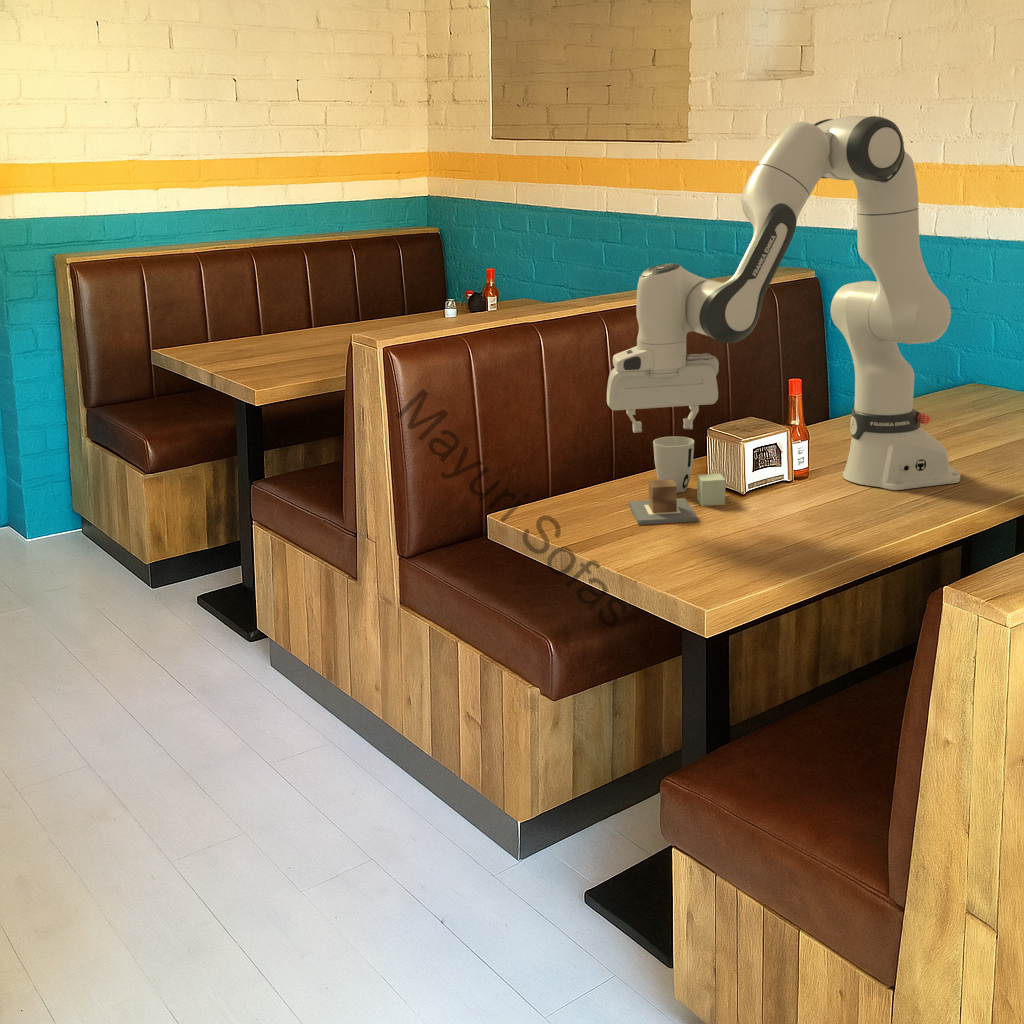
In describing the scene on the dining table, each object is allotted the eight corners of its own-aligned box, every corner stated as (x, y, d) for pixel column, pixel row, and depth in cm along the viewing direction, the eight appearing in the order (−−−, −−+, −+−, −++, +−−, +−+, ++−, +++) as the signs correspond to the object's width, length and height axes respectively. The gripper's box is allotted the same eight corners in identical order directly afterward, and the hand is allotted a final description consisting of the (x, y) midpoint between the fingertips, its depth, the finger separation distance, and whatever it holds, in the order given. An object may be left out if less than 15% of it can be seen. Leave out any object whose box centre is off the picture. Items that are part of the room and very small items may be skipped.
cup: (692, 495, 224) (693, 446, 221) (651, 494, 226) (651, 446, 223) (694, 483, 232) (695, 436, 229) (655, 483, 233) (654, 436, 230)
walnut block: (672, 504, 216) (672, 479, 215) (676, 511, 212) (676, 486, 210) (648, 505, 216) (648, 480, 215) (652, 513, 212) (652, 487, 210)
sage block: (720, 498, 222) (720, 473, 221) (725, 504, 218) (725, 479, 216) (697, 499, 222) (697, 474, 221) (701, 506, 218) (702, 481, 216)
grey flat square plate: (684, 502, 220) (684, 497, 220) (697, 521, 209) (697, 516, 209) (628, 505, 220) (628, 501, 220) (638, 524, 208) (638, 520, 208)
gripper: (714, 349, 209) (714, 422, 213) (604, 356, 208) (606, 429, 212) (722, 355, 203) (722, 430, 207) (608, 362, 202) (610, 437, 206)
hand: (662, 430), depth 210 cm, fingers open, 8 cm apart
